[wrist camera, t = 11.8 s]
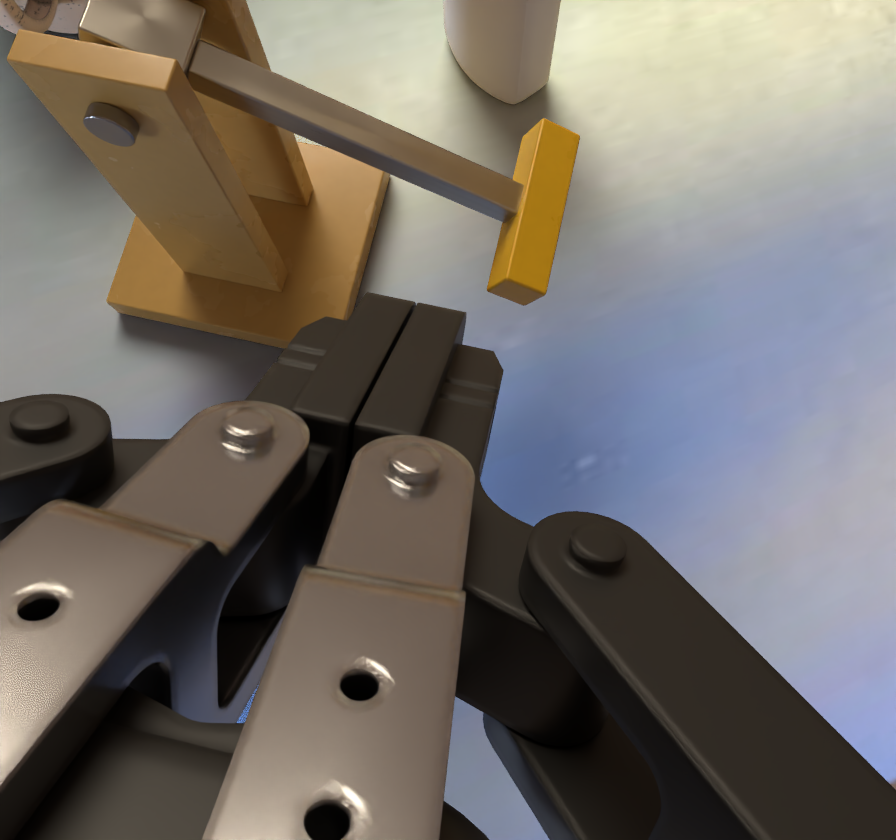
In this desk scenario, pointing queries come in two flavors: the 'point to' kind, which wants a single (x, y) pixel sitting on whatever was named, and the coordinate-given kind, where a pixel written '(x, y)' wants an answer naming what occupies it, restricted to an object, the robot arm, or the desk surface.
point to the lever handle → (365, 136)
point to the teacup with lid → (41, 15)
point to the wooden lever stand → (210, 188)
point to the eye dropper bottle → (503, 43)
